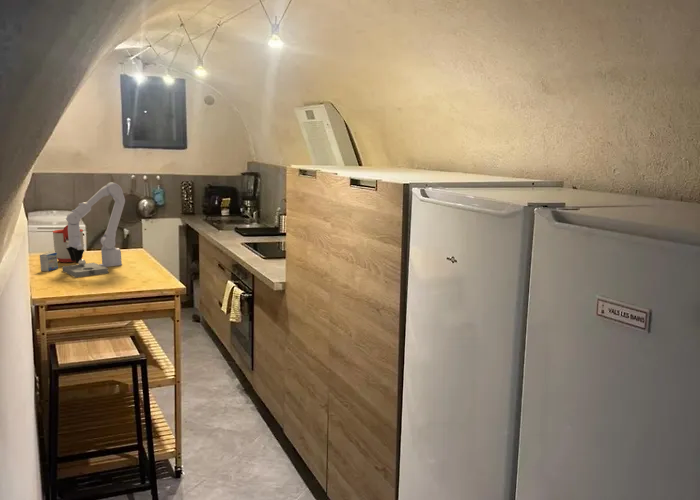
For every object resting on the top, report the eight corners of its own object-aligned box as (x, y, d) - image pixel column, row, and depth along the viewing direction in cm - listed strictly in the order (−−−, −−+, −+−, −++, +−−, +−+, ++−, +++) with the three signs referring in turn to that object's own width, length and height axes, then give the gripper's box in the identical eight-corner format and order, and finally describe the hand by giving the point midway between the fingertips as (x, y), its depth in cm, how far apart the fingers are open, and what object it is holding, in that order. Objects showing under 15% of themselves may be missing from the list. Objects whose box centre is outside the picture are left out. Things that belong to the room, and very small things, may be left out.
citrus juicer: (55, 265, 350) (53, 228, 347) (53, 259, 365) (50, 224, 362) (87, 262, 357) (84, 226, 354) (83, 257, 372) (81, 222, 369)
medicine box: (48, 271, 333) (47, 254, 332) (40, 271, 334) (39, 254, 333) (58, 268, 341) (57, 252, 339) (50, 268, 342) (49, 251, 340)
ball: (84, 265, 337) (84, 258, 336) (87, 266, 334) (86, 259, 333) (77, 266, 334) (77, 259, 334) (79, 267, 332) (79, 260, 331)
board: (94, 267, 344) (94, 262, 344) (108, 273, 329) (108, 268, 329) (62, 271, 334) (62, 266, 334) (75, 277, 319) (75, 272, 319)
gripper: (61, 235, 342) (63, 260, 344) (70, 238, 331) (72, 264, 333) (75, 233, 346) (77, 259, 348) (85, 237, 335) (86, 263, 338)
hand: (76, 261), depth 341 cm, fingers open, 7 cm apart
